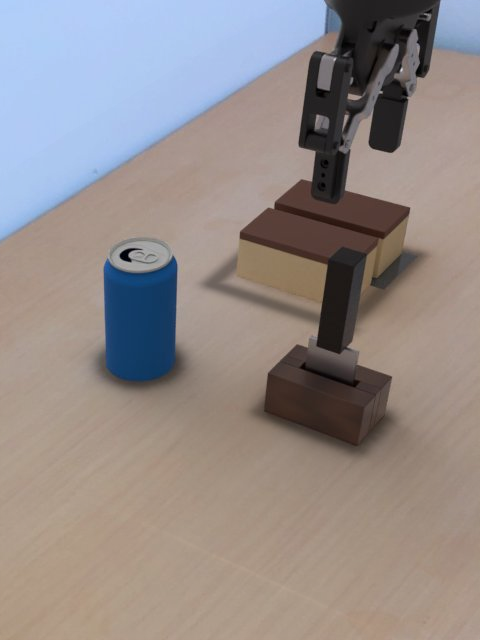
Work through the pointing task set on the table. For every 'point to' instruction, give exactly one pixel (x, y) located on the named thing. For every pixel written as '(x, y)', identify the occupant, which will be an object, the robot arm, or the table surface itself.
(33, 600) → the table surface
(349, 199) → the block
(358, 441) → the knife block
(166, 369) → the beverage can
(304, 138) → the robot arm
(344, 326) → the knife
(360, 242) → the cake slice
